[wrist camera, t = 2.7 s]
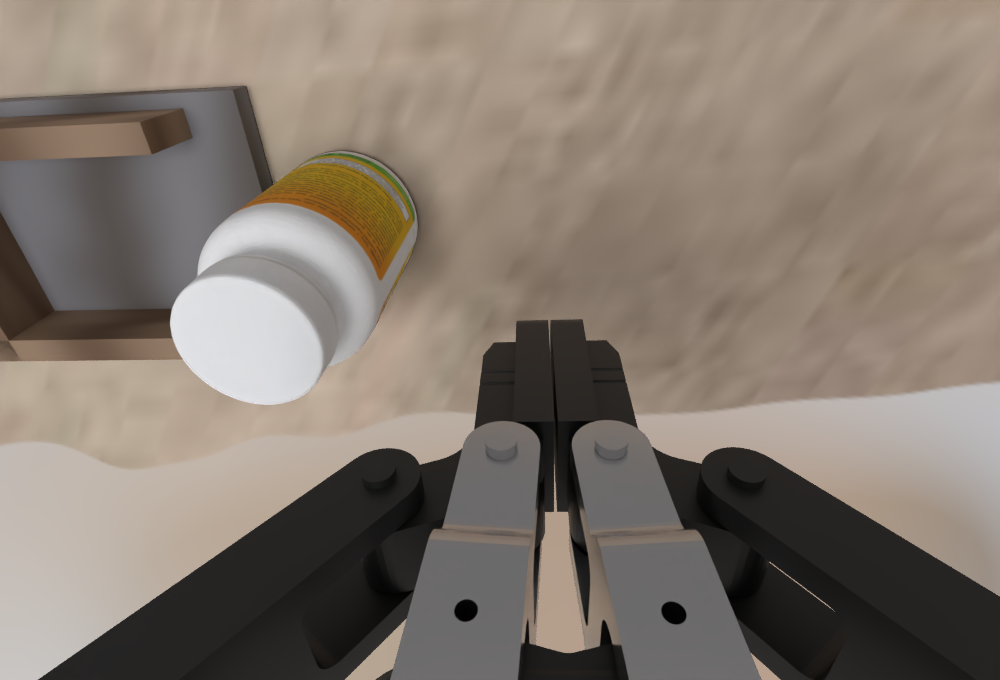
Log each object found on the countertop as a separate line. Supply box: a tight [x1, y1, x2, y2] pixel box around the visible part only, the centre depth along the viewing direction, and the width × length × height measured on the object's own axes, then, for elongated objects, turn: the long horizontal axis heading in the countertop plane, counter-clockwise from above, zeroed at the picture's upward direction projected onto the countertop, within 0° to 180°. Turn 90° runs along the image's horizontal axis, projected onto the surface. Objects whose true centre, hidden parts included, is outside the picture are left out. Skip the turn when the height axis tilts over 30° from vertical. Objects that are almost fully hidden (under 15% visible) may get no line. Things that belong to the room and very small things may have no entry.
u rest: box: [0, 86, 273, 361], centre depth 22 cm, size 12×10×4 cm
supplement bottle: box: [170, 151, 418, 405], centre depth 18 cm, size 5×5×10 cm
